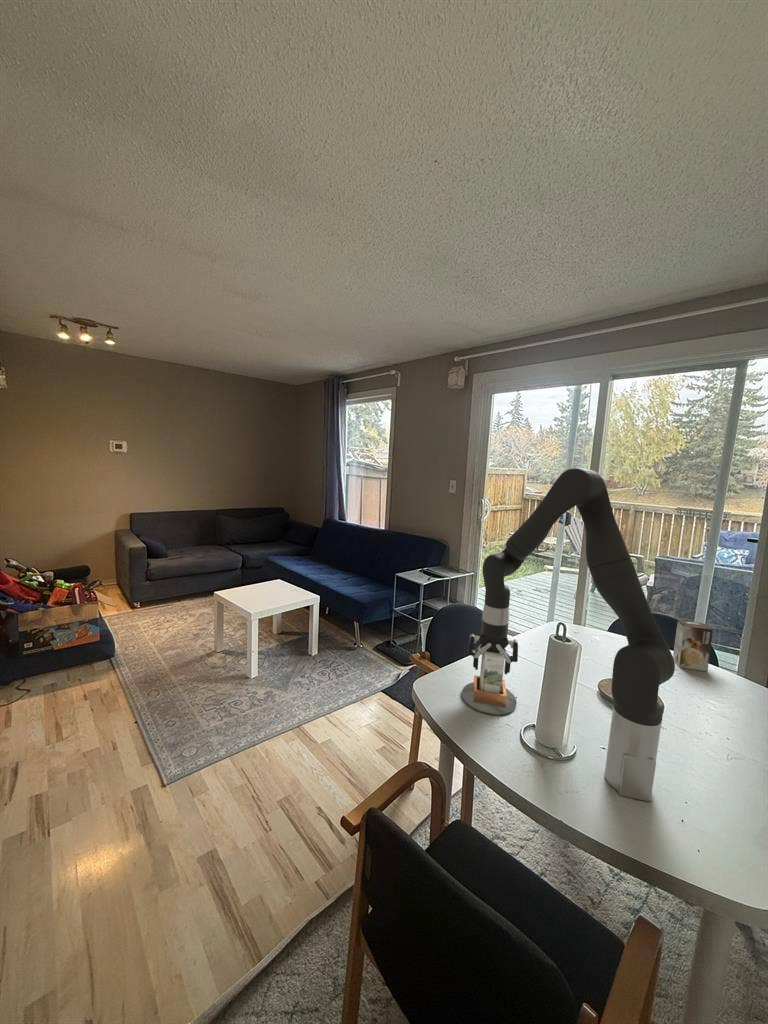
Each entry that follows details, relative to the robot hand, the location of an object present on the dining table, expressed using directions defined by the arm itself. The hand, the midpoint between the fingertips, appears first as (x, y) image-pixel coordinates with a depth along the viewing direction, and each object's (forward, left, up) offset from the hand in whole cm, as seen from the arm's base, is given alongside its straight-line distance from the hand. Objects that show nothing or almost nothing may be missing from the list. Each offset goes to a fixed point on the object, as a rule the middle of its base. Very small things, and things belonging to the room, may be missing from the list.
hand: (490, 670), depth 122 cm
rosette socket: (0, 0, -9) cm, 9 cm away
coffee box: (+45, -74, -9) cm, 87 cm away
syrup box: (0, 0, -8) cm, 8 cm away
